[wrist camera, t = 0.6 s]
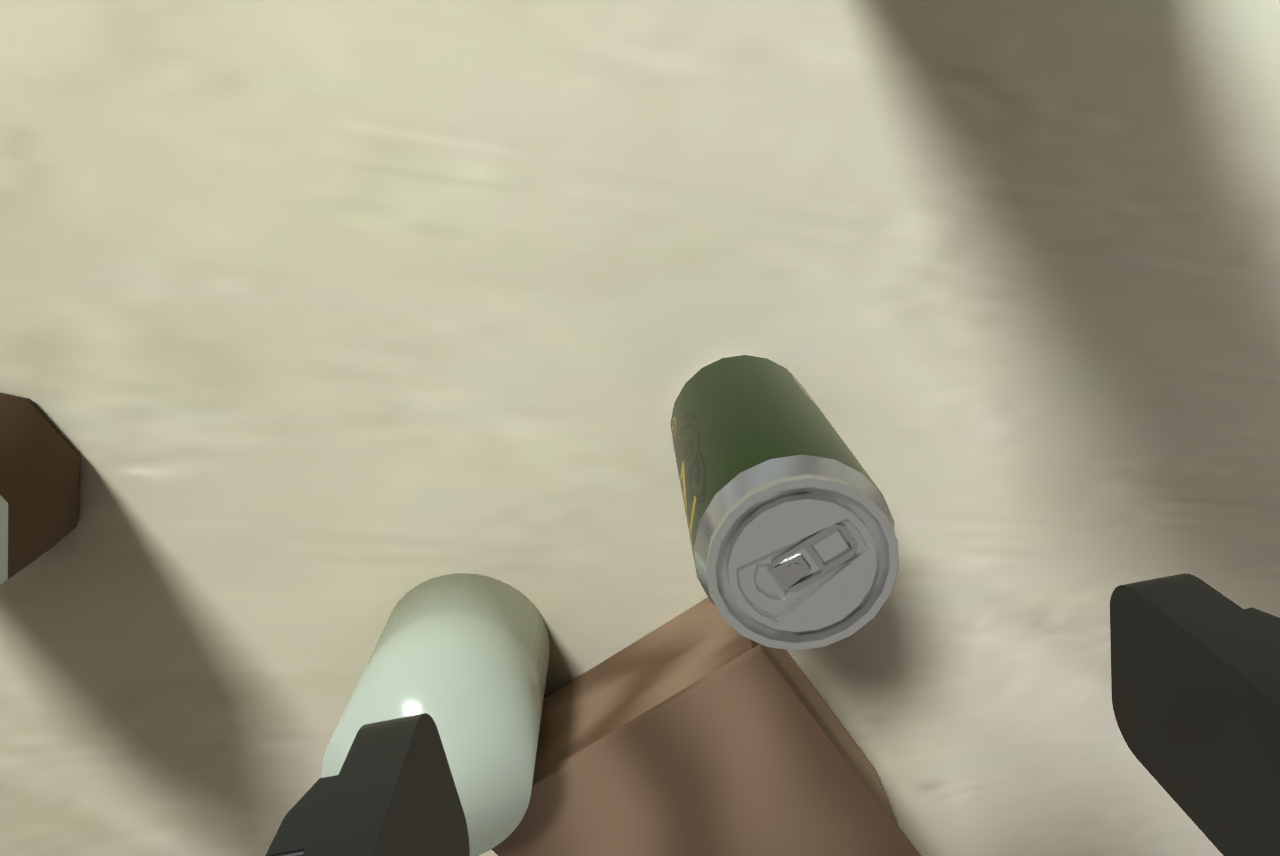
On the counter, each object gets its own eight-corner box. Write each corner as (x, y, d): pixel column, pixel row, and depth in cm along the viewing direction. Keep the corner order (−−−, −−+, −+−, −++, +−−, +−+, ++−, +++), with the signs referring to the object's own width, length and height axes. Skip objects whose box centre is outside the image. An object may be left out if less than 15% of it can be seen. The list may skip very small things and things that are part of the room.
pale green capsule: (481, 543, 34) (442, 659, 26) (582, 662, 36) (573, 801, 28) (350, 629, 35) (277, 764, 28) (454, 740, 37) (413, 894, 30)
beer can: (759, 322, 31) (839, 428, 20) (832, 432, 33) (945, 588, 21) (642, 402, 32) (655, 546, 21) (718, 505, 34) (769, 692, 22)
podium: (738, 566, 35) (762, 650, 29) (890, 771, 38) (937, 881, 33) (490, 718, 37) (467, 824, 31) (656, 898, 41) (662, 1022, 35)
